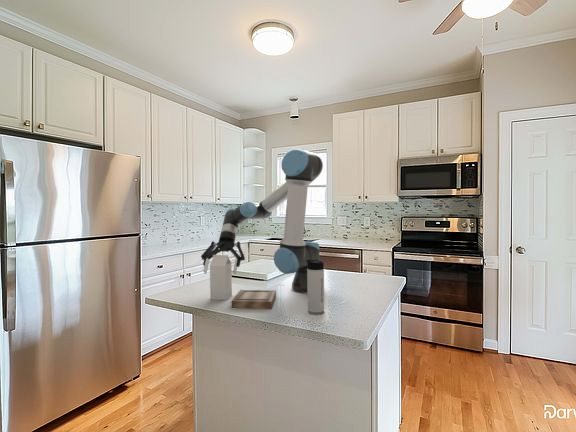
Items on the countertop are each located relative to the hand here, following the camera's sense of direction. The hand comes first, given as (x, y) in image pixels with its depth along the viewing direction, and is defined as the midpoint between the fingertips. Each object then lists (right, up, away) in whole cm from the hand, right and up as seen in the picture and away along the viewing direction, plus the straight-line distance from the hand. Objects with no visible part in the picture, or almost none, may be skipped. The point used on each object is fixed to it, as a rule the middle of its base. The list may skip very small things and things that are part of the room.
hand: (219, 272), depth 137 cm
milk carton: (+1, -11, -1) cm, 11 cm away
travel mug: (+41, -12, -21) cm, 47 cm away
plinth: (+17, -11, -8) cm, 22 cm away
